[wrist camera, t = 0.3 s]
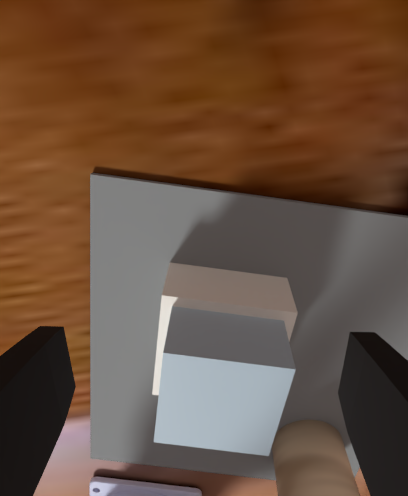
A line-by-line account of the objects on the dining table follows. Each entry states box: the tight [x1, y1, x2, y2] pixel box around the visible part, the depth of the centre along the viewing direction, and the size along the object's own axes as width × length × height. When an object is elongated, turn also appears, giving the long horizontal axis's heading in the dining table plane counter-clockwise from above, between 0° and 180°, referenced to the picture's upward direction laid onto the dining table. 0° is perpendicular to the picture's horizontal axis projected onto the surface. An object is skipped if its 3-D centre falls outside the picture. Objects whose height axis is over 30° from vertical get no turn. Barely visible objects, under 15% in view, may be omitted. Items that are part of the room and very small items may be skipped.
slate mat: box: [90, 173, 408, 480], centre depth 23 cm, size 20×18×1 cm
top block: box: [154, 306, 296, 456], centre depth 17 cm, size 5×5×3 cm
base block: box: [152, 262, 298, 395], centre depth 20 cm, size 6×6×3 cm
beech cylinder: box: [272, 420, 360, 496], centre depth 23 cm, size 4×4×5 cm
